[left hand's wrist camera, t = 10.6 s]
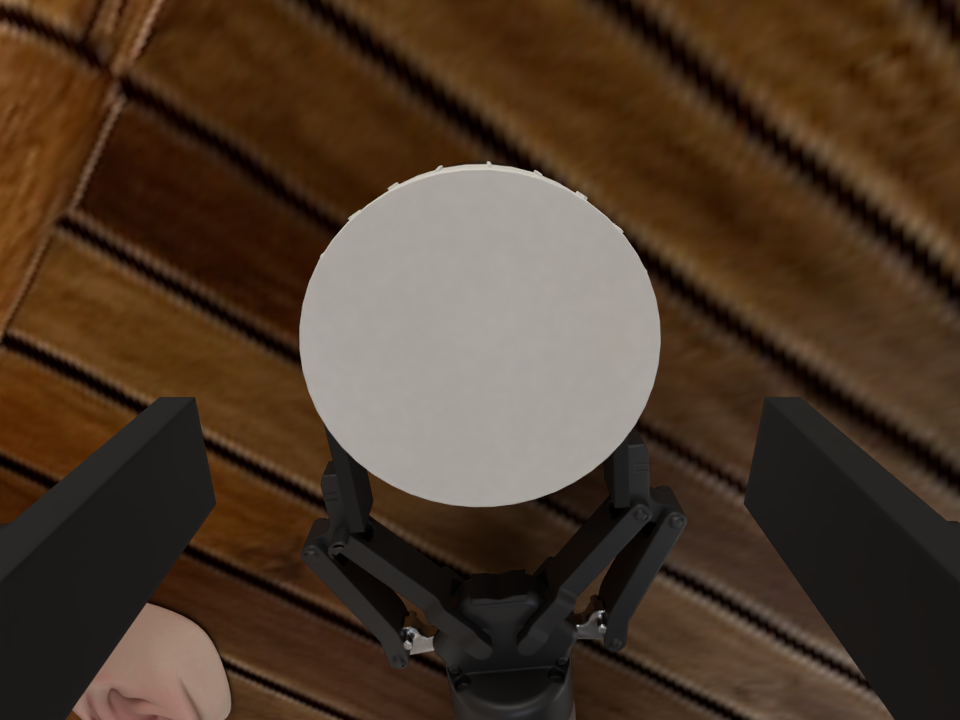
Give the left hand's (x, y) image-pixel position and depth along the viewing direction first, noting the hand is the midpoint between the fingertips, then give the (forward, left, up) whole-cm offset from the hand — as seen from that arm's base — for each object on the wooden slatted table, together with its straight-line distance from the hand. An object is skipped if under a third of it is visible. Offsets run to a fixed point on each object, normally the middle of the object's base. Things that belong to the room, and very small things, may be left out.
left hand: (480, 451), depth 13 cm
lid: (0, 0, -6) cm, 6 cm away
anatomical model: (+4, +39, -21) cm, 45 cm away
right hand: (-3, +5, -15) cm, 16 cm away
